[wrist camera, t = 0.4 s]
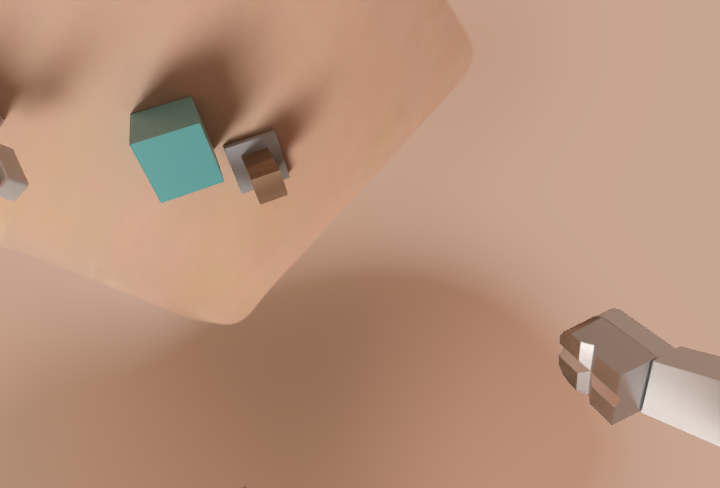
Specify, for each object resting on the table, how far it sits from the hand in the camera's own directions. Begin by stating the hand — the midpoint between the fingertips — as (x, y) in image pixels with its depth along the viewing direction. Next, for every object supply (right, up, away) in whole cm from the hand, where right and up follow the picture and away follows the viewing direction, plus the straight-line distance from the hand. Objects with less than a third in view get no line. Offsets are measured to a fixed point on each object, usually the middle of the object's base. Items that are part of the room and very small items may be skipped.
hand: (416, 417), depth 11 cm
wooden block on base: (-11, +12, +34) cm, 38 cm away
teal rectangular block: (-18, +14, +29) cm, 37 cm away
